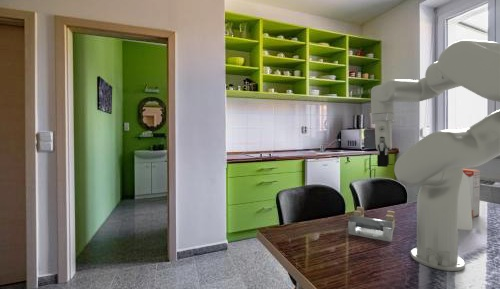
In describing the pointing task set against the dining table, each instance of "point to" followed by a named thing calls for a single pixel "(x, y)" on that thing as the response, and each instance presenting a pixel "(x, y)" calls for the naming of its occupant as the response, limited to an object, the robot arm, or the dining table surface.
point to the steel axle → (371, 223)
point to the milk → (464, 205)
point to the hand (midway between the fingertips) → (383, 165)
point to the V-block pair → (370, 232)
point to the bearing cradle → (389, 216)
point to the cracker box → (474, 189)
